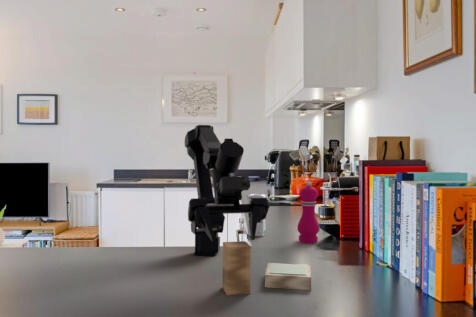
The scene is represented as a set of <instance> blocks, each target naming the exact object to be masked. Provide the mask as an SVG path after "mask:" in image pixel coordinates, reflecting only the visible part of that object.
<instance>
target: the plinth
mask: <svg viewBox="0 0 476 317" xmlns="http://www.w3.org/2000/svg"><path fill="white" fill-rule="evenodd" d="M266 287H267V289H268V288H269V289H273V288H274V289H287V290H288V289H289V290H302V291H303V290H306V291H311V290H312V273H311V266H310V264H299V263H279V262H276V263H275V262H267V265H266V269H265V273H264V288H266Z"/></svg>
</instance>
